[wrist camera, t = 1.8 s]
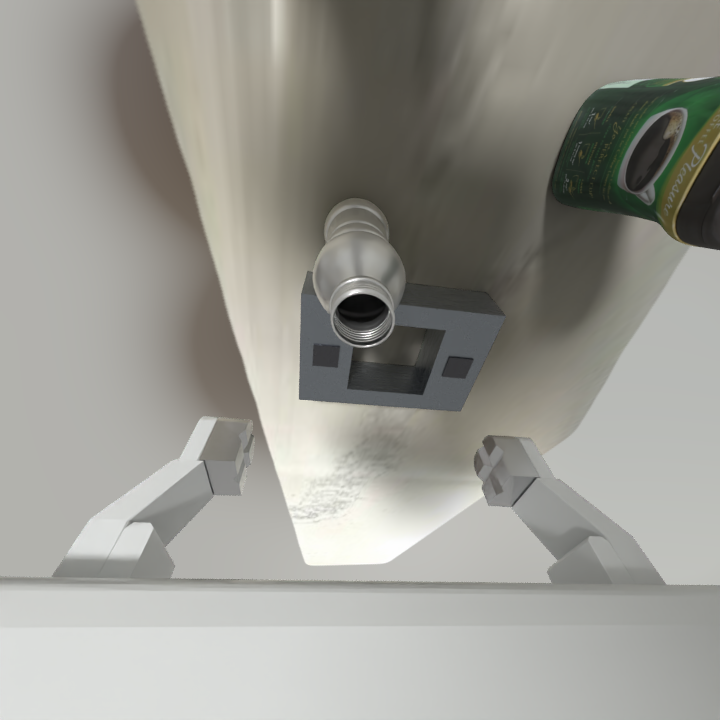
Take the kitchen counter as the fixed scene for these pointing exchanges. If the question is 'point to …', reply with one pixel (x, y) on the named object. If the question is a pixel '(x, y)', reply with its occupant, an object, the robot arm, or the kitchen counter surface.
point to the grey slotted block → (397, 382)
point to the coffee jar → (648, 156)
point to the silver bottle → (359, 274)
